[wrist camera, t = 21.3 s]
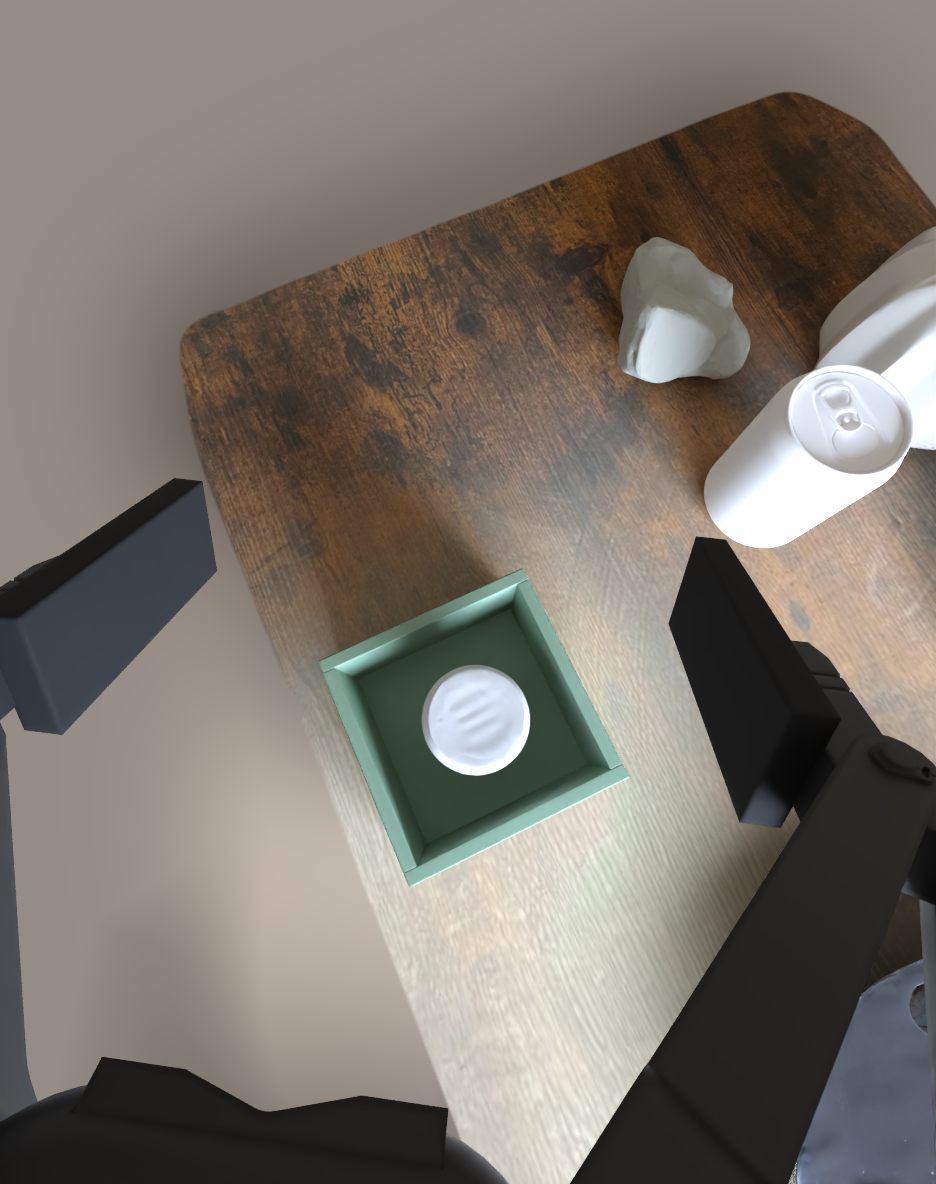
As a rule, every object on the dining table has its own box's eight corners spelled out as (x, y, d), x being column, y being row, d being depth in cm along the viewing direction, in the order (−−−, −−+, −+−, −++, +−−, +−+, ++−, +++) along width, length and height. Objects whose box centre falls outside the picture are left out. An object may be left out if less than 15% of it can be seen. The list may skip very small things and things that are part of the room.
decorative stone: (760, 381, 46) (727, 325, 38) (646, 419, 51) (596, 378, 43) (739, 255, 47) (703, 177, 40) (631, 306, 53) (580, 246, 45)
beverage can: (724, 563, 44) (814, 500, 32) (684, 467, 46) (756, 376, 34) (824, 534, 44) (948, 462, 33) (780, 440, 46) (884, 341, 35)
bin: (344, 674, 42) (317, 661, 35) (514, 596, 44) (522, 567, 36) (421, 859, 39) (409, 887, 32) (601, 769, 40) (629, 777, 33)
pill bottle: (426, 683, 41) (409, 664, 30) (512, 672, 42) (526, 648, 31) (436, 774, 40) (422, 787, 29) (525, 762, 40) (545, 771, 29)
